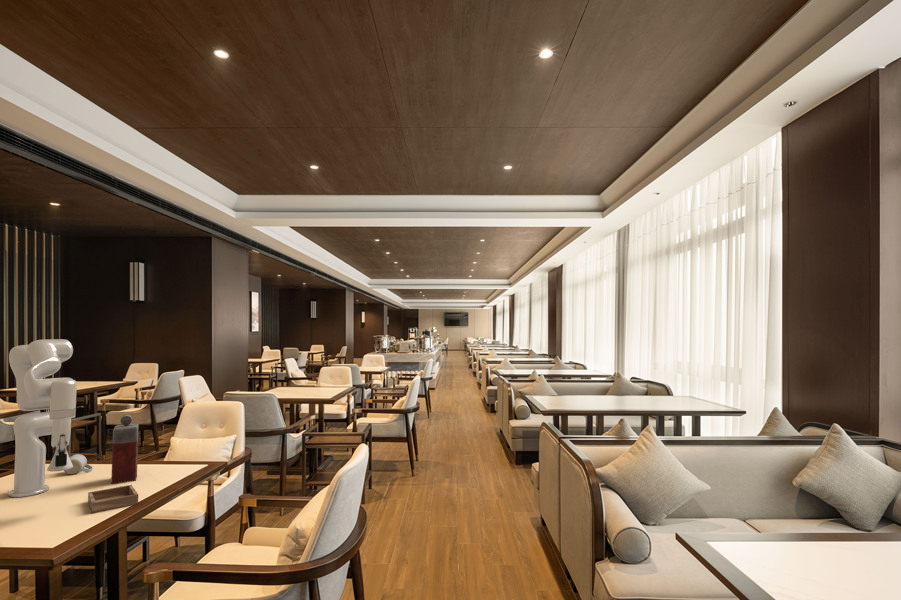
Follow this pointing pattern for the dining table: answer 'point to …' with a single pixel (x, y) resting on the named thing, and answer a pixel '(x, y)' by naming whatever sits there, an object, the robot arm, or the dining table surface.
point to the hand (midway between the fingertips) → (60, 463)
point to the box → (112, 498)
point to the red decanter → (124, 451)
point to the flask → (60, 468)
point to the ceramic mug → (78, 464)
